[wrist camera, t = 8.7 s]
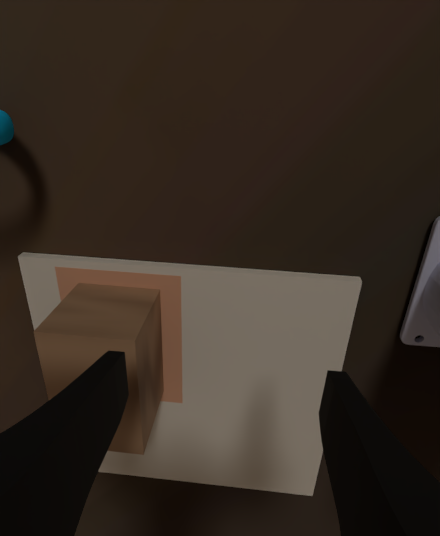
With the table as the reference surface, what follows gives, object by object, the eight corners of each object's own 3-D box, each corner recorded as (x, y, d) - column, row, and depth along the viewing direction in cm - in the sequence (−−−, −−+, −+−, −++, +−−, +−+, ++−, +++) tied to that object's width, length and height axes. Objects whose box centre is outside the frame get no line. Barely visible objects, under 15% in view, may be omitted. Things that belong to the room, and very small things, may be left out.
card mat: (359, 276, 21) (362, 281, 21) (311, 488, 29) (312, 496, 29) (23, 252, 22) (17, 256, 22) (68, 461, 31) (65, 468, 30)
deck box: (163, 390, 26) (143, 454, 21) (93, 383, 26) (58, 445, 21) (160, 289, 22) (134, 340, 18) (78, 282, 22) (33, 331, 18)
